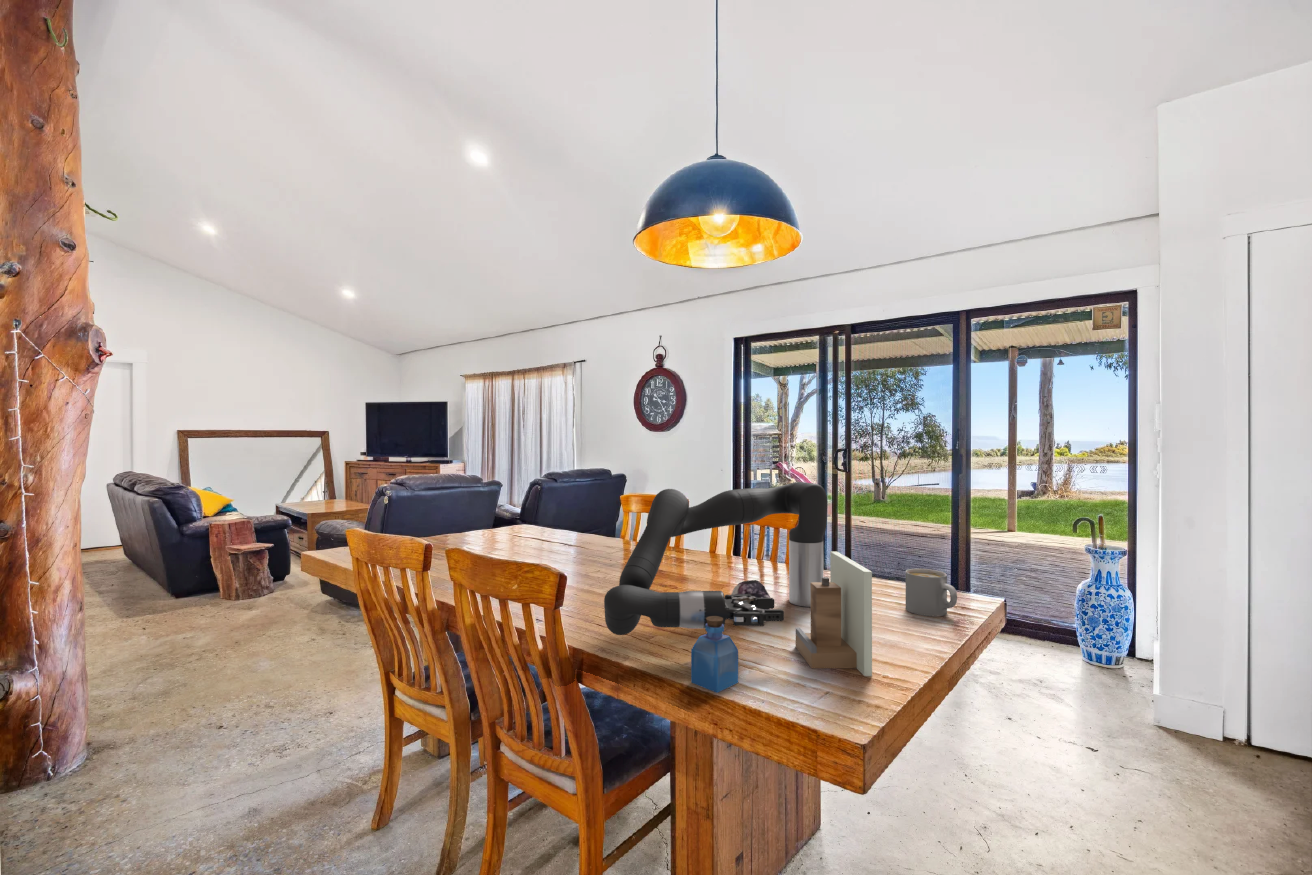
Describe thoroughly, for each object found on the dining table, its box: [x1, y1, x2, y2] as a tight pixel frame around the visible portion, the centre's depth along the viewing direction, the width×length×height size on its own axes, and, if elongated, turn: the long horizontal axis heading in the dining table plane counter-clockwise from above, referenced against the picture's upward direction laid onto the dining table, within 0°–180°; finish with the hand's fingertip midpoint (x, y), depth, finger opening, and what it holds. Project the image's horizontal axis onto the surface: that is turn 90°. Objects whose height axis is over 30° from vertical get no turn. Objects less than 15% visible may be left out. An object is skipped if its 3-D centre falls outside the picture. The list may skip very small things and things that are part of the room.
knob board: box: [810, 576, 841, 646], centre depth 122 cm, size 4×5×14 cm
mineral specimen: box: [730, 579, 771, 618], centre depth 148 cm, size 10×10×10 cm
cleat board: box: [795, 551, 873, 677], centre depth 122 cm, size 20×10×20 cm, turn 1°
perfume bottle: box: [690, 616, 739, 694], centre depth 109 cm, size 6×6×12 cm
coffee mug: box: [905, 568, 958, 617], centre depth 153 cm, size 13×10×10 cm
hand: (778, 608), depth 121 cm, fingers open, 8 cm apart
